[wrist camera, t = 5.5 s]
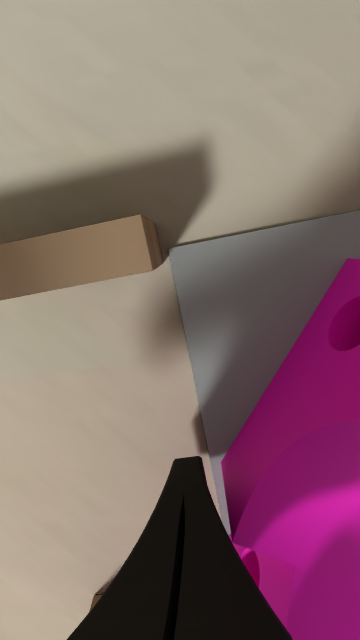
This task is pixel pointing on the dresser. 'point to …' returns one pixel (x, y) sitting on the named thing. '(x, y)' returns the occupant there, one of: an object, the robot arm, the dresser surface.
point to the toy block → (306, 475)
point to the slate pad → (252, 314)
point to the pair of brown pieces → (79, 259)
